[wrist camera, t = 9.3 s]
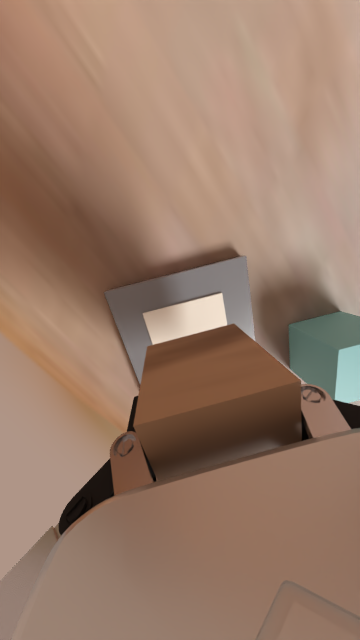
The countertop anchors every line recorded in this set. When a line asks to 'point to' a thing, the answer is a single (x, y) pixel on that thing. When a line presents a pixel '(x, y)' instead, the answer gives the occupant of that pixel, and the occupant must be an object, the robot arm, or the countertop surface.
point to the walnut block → (213, 401)
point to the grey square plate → (181, 306)
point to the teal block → (328, 354)
